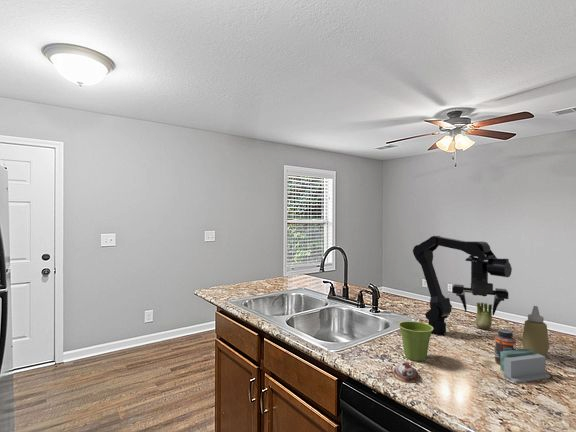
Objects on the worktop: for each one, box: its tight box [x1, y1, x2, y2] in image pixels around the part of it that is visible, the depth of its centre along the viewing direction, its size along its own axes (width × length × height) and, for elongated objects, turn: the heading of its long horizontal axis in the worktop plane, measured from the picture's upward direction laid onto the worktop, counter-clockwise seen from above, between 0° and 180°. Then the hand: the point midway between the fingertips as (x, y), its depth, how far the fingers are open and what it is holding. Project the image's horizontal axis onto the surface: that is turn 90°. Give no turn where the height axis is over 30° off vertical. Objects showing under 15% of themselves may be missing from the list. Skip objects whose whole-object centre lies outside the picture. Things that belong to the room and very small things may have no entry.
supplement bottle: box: [494, 328, 517, 365], centre depth 110 cm, size 6×6×11 cm
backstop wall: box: [503, 354, 551, 384], centre depth 102 cm, size 4×14×6 cm, turn 105°
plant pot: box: [397, 320, 434, 362], centre depth 116 cm, size 12×12×11 cm
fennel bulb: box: [475, 302, 493, 331], centre depth 148 cm, size 6×5×12 cm
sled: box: [478, 348, 534, 375], centre depth 110 cm, size 11×11×7 cm
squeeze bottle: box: [521, 305, 550, 357], centre depth 120 cm, size 8×8×18 cm
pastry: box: [393, 361, 420, 383], centre depth 102 cm, size 8×8×5 cm
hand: (479, 313), depth 127 cm, fingers open, 9 cm apart
